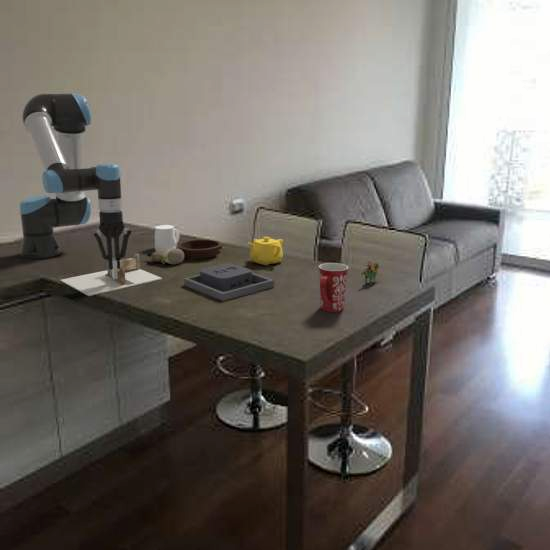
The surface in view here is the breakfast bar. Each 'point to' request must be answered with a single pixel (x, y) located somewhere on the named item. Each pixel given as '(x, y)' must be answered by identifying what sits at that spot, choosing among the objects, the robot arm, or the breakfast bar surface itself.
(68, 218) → the robot arm
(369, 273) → the figurine
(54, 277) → the breakfast bar surface
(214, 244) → the dish
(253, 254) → the teapot
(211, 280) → the streaming box
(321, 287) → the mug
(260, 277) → the speaker coaster
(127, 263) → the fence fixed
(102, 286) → the card
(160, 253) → the toy
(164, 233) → the mug
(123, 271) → the bar
